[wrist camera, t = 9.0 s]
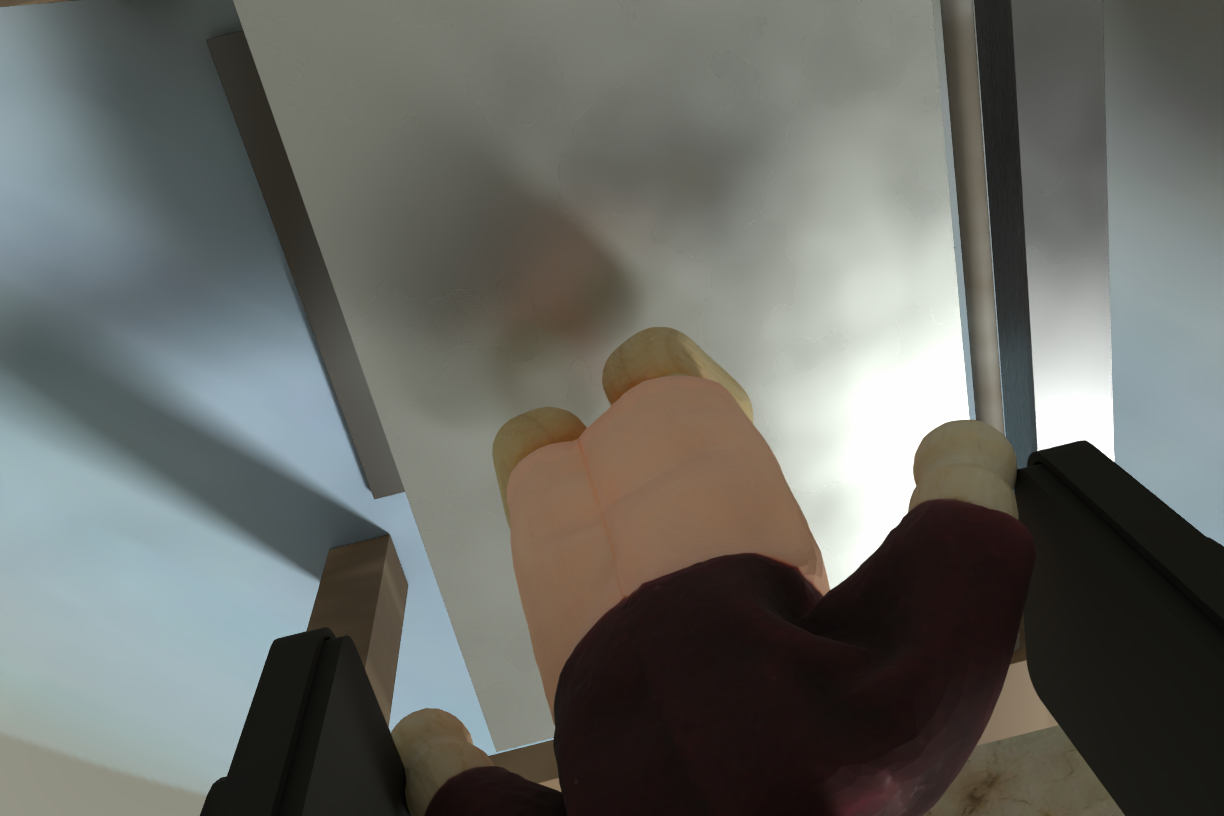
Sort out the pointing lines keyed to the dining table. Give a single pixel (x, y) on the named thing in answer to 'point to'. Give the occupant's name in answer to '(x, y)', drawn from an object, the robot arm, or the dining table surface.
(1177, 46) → the dining table surface
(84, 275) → the dining table surface
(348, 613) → the frame
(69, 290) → the dining table surface
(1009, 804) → the marble piece
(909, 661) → the grandmother figurine
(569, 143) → the trapdoor plate
